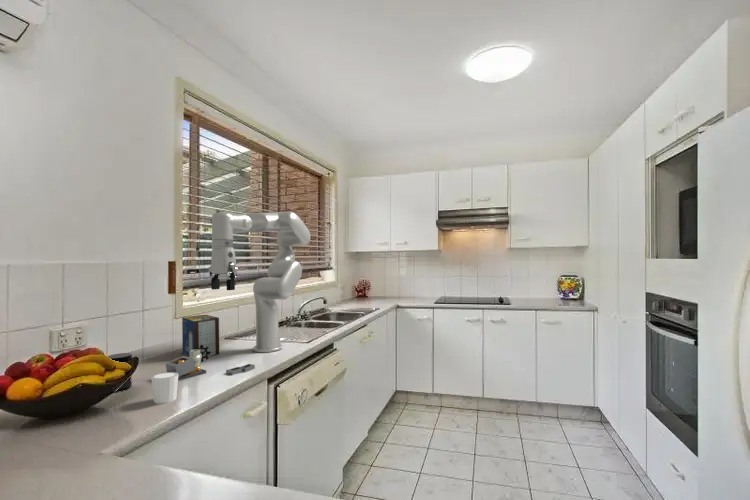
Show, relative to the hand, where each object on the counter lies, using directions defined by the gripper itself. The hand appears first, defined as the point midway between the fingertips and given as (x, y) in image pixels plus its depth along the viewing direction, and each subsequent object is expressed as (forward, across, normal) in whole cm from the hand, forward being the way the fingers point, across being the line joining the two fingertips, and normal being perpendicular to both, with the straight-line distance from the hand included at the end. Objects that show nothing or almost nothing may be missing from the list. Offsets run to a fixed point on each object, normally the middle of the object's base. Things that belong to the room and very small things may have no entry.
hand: (223, 289), depth 149 cm
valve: (+29, +7, +6) cm, 30 cm away
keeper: (+28, -2, +16) cm, 33 cm away
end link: (+27, -2, +17) cm, 32 cm away
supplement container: (+28, +2, +35) cm, 45 cm away
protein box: (+29, +24, -5) cm, 38 cm away
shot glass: (+28, -20, +32) cm, 47 cm away
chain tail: (+28, -14, +3) cm, 32 cm away
